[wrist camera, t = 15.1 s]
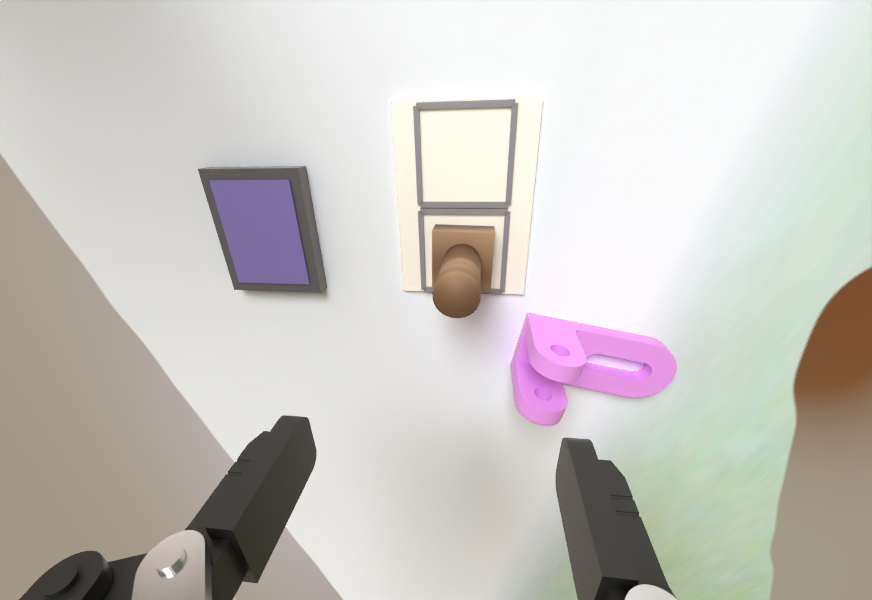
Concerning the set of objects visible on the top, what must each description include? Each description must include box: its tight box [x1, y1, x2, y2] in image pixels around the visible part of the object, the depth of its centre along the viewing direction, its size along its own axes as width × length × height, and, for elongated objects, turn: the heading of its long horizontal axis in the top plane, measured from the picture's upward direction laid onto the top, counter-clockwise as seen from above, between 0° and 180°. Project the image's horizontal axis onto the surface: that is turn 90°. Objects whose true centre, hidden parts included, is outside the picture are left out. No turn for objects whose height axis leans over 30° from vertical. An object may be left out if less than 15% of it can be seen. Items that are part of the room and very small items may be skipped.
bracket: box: [511, 313, 677, 426], centre depth 28 cm, size 13×6×7 cm, turn 81°
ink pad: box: [198, 166, 327, 292], centre depth 29 cm, size 10×8×1 cm
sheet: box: [391, 98, 543, 295], centre depth 26 cm, size 14×10×1 cm
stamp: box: [432, 224, 495, 318], centre depth 24 cm, size 4×4×8 cm
